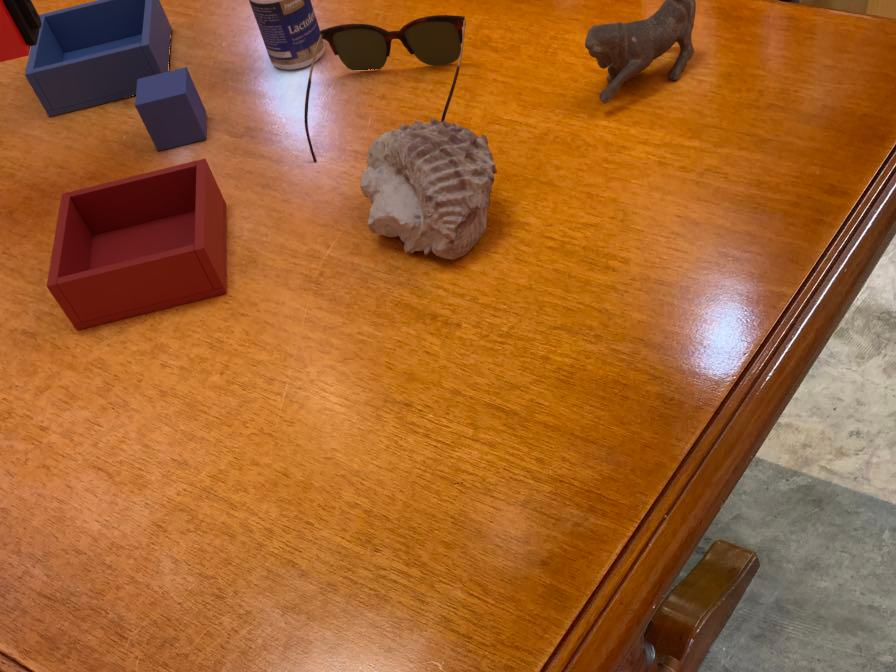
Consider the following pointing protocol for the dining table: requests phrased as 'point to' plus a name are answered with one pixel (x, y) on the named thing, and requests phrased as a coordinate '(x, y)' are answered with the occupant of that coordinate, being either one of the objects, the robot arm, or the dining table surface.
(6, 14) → the red block
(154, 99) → the blue block
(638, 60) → the dog figurine
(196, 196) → the maroon bin
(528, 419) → the dining table surface
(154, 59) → the blue bin
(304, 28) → the pill bottle
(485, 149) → the seashell
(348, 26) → the sunglasses
